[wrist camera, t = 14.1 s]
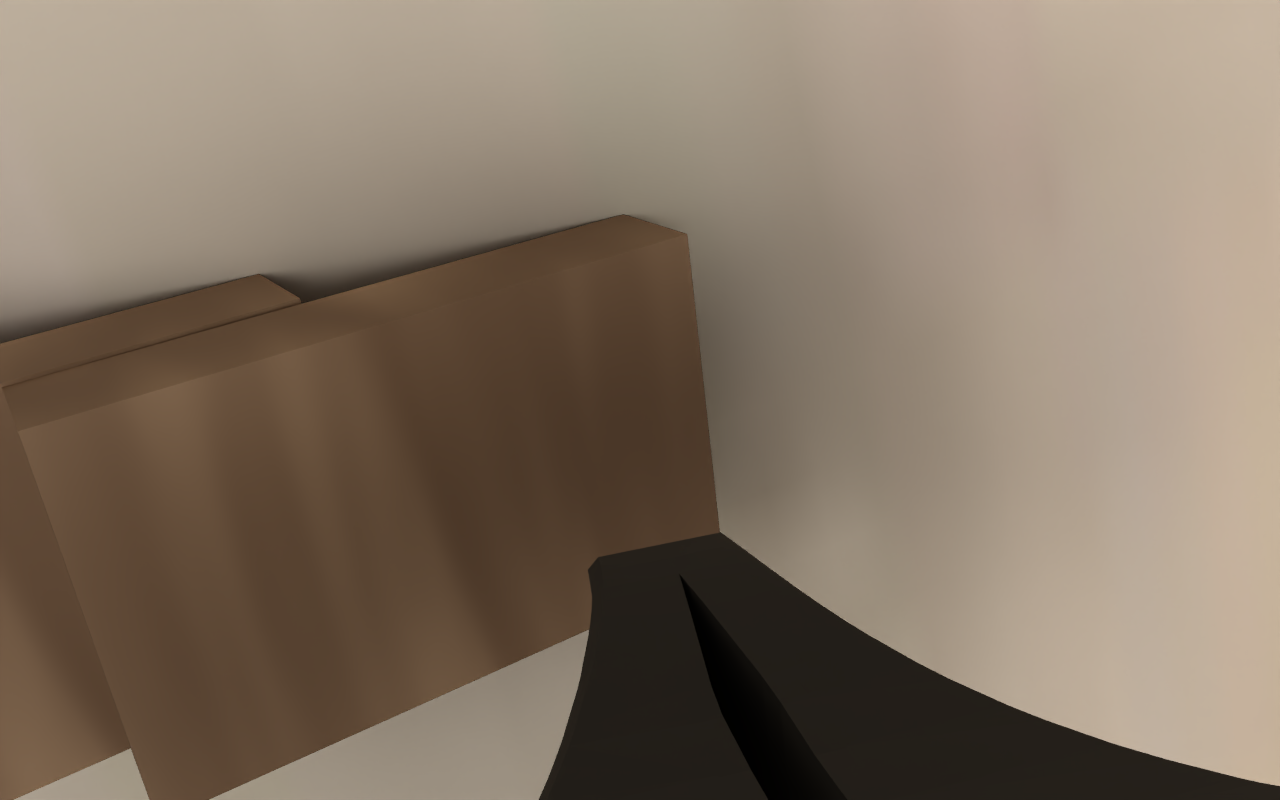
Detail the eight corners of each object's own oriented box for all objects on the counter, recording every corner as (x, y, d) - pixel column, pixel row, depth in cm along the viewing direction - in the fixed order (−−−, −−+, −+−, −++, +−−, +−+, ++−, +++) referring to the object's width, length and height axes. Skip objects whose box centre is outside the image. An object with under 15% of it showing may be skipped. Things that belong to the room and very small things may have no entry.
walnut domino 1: (299, 298, 15) (-536, 535, 11) (380, 638, 17) (-306, 938, 13) (258, 274, 16) (-504, 479, 12) (338, 592, 18) (-300, 856, 14)
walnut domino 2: (686, 234, 16) (17, 431, 12) (724, 568, 18) (158, 821, 14) (623, 214, 17) (1, 387, 13) (664, 528, 19) (131, 750, 15)
